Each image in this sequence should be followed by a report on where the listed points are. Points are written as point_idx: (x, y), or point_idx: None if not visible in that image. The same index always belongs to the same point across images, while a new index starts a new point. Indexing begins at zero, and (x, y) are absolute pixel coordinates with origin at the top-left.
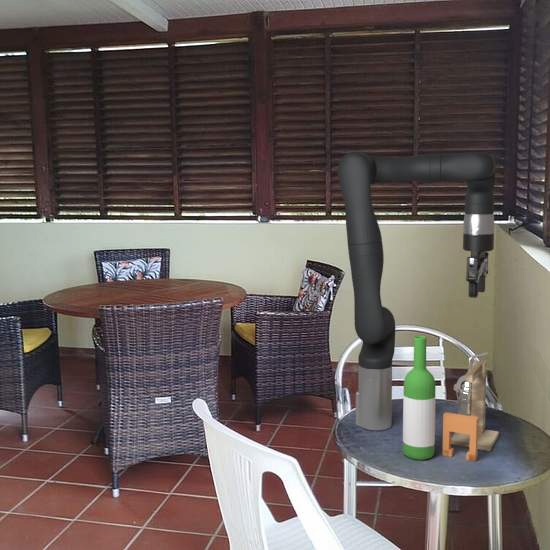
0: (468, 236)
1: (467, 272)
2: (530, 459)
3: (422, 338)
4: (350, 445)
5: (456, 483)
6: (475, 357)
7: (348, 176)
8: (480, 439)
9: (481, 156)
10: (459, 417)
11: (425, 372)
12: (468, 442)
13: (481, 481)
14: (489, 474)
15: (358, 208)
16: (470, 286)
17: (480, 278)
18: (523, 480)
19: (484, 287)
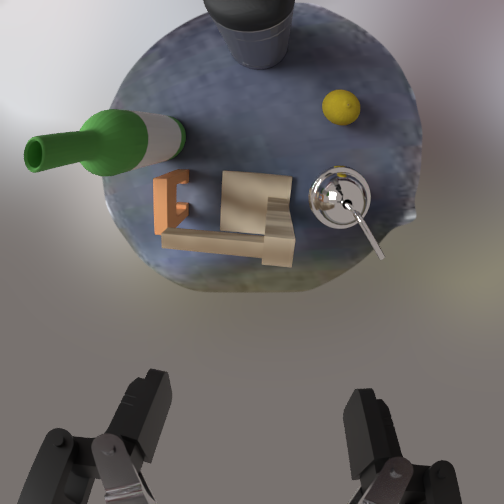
0: None
1: (35, 471)
2: (216, 276)
3: (26, 166)
4: (163, 45)
5: (112, 204)
6: (362, 229)
7: None
8: (241, 214)
9: None
10: (154, 206)
11: (83, 161)
12: (222, 199)
13: (129, 229)
14: (150, 235)
15: None
16: (113, 420)
17: (362, 469)
18: (154, 270)
19: (346, 435)
